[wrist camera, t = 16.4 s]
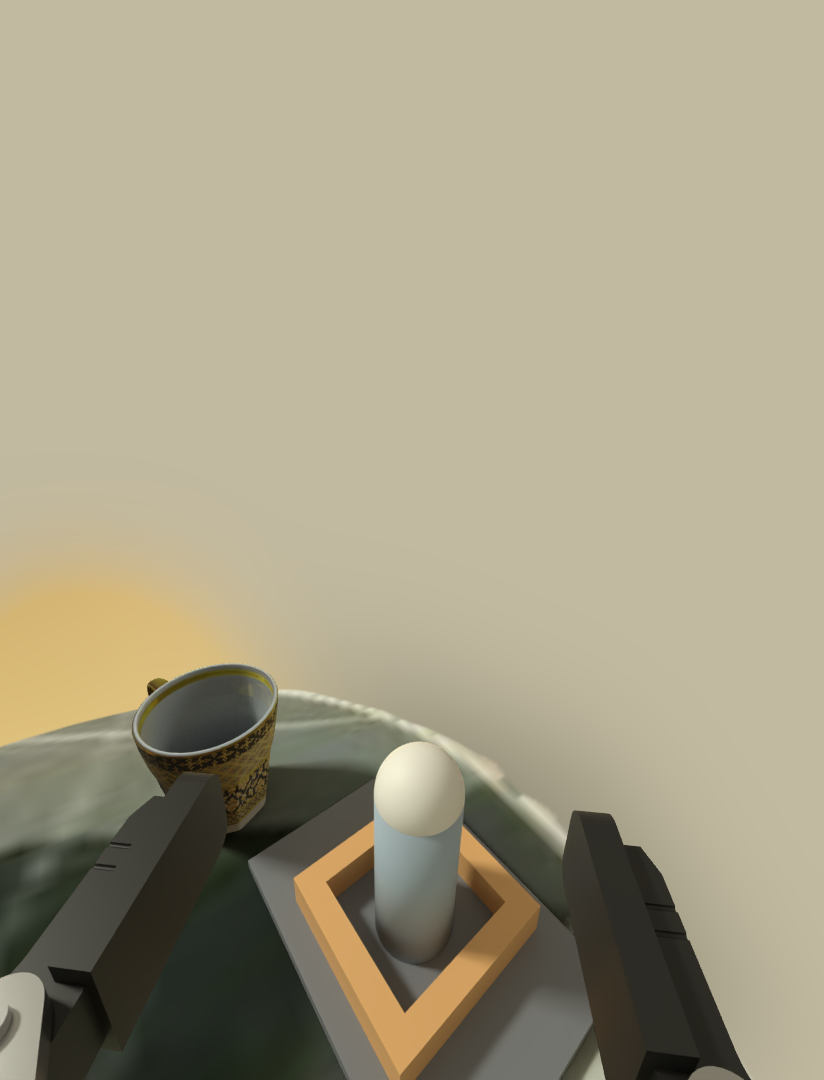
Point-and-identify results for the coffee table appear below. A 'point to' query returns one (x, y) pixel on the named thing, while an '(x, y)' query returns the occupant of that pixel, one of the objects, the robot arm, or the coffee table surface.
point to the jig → (437, 985)
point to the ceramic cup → (212, 732)
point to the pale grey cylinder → (416, 850)
